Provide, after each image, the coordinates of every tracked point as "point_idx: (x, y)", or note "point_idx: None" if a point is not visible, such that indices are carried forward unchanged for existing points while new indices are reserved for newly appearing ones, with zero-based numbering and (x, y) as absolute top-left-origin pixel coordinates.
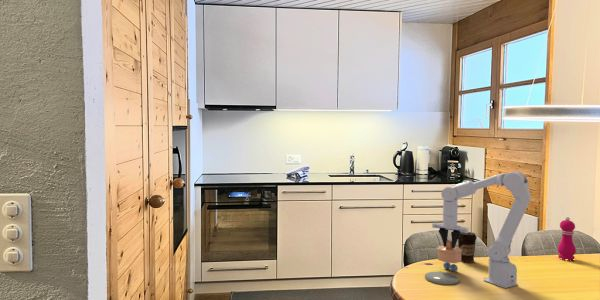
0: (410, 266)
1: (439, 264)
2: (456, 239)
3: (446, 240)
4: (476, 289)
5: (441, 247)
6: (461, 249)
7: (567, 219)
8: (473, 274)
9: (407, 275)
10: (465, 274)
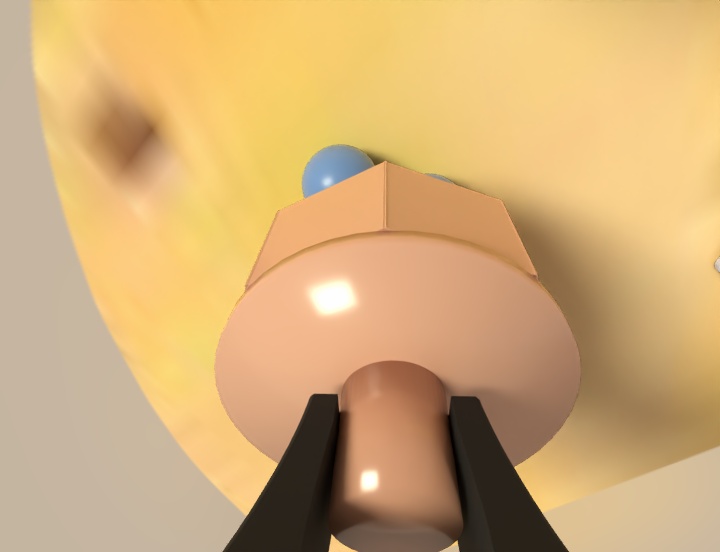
0: (105, 312)
1: (212, 75)
2: (535, 545)
3: (338, 533)
4: (648, 423)
5: (274, 404)
6: (572, 335)
7: None
8: (619, 153)
9: (227, 447)
10: (543, 206)
